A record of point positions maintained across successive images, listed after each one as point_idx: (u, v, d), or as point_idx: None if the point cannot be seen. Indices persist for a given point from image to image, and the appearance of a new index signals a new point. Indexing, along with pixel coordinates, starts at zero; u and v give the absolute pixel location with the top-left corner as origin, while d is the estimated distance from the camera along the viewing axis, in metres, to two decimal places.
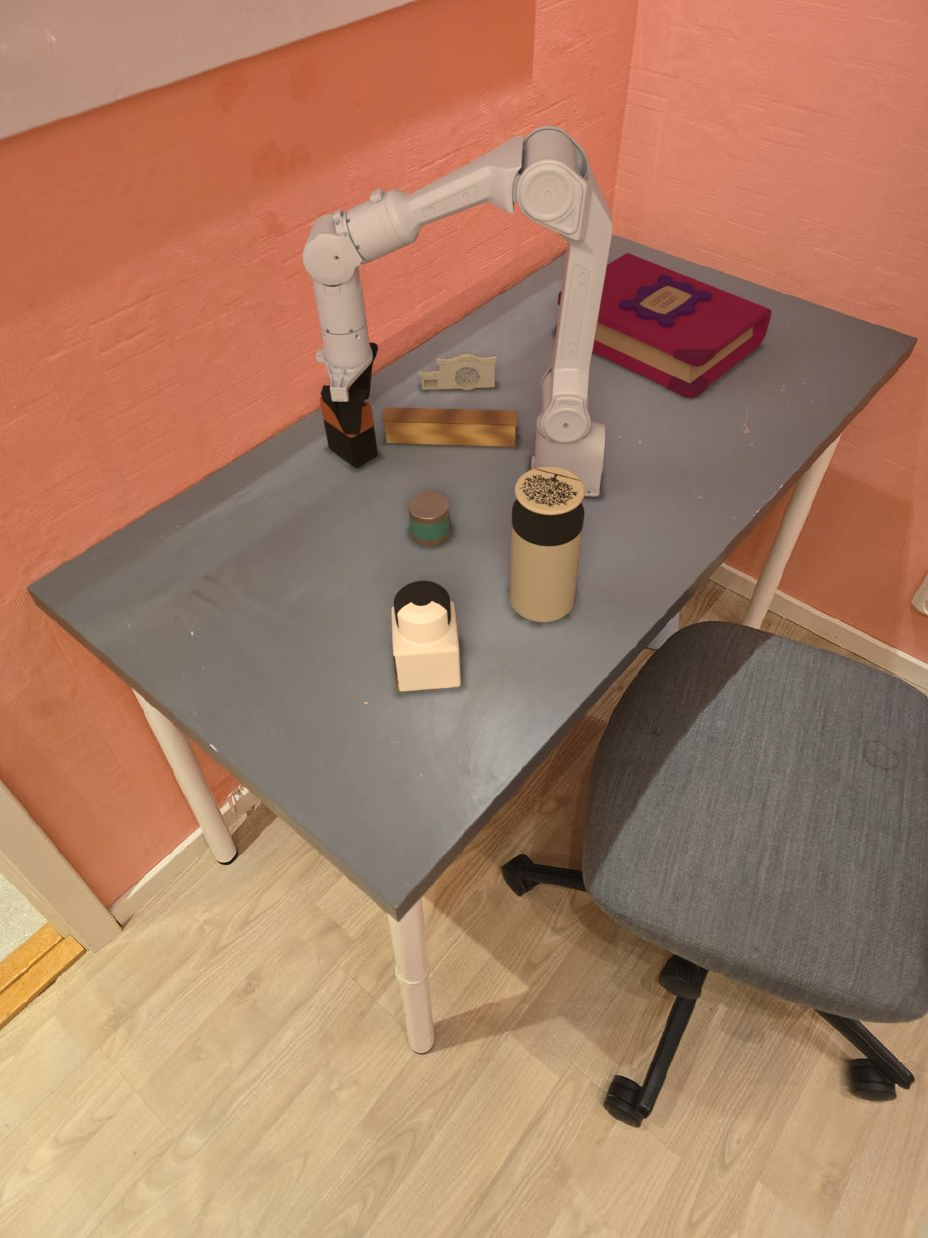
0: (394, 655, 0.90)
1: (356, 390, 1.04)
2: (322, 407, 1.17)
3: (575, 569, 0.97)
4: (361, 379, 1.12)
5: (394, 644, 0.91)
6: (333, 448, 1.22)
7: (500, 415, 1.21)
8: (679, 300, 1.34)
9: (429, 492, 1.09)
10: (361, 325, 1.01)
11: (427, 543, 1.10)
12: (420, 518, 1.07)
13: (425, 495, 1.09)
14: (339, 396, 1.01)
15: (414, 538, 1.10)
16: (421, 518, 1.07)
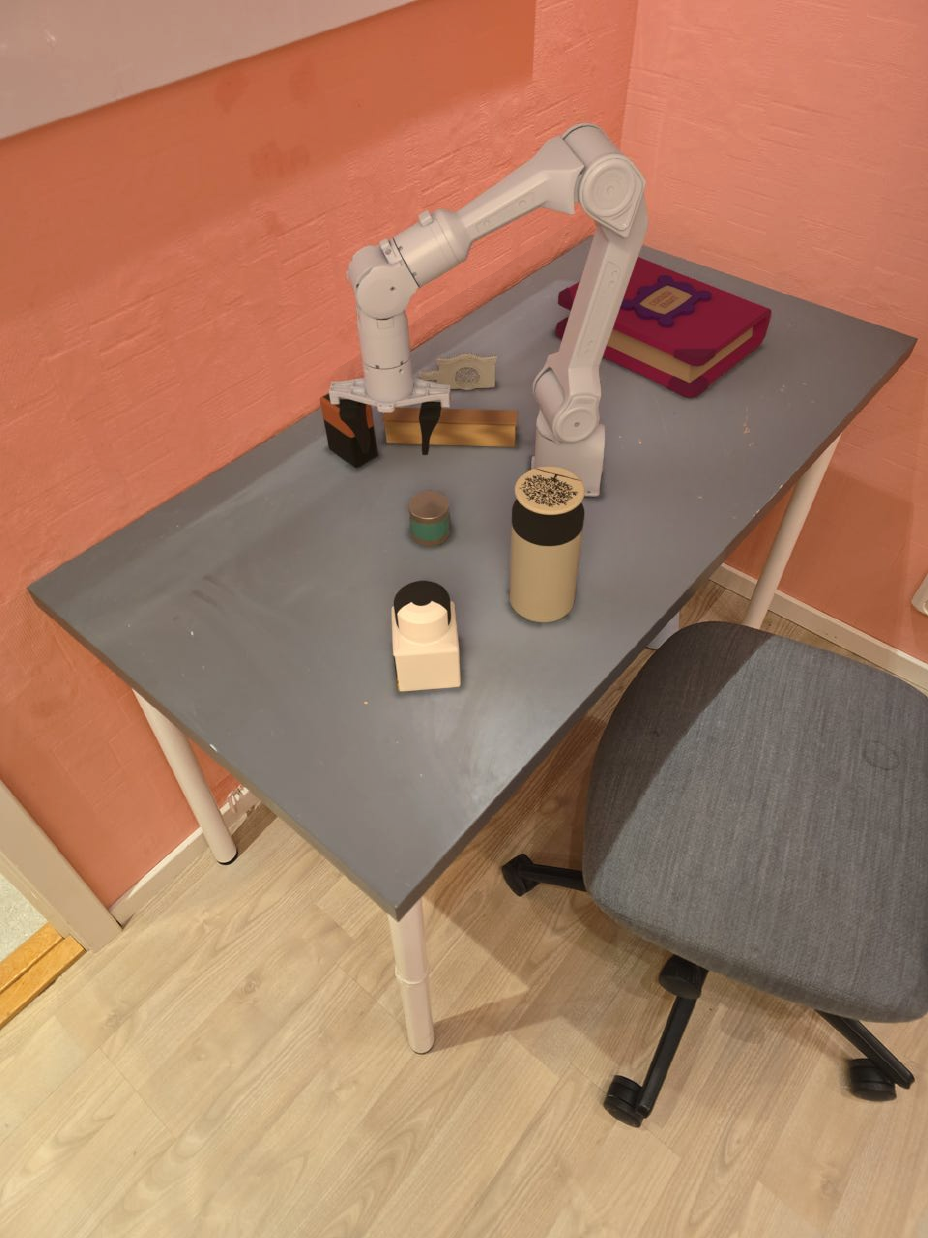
0: (394, 655, 0.90)
1: None
2: (322, 407, 1.17)
3: (575, 569, 0.97)
4: (365, 426, 1.06)
5: (394, 644, 0.91)
6: (333, 448, 1.22)
7: (500, 415, 1.21)
8: (679, 300, 1.34)
9: (429, 492, 1.09)
10: (409, 355, 0.96)
11: (427, 543, 1.10)
12: (420, 518, 1.07)
13: (425, 495, 1.09)
14: (450, 397, 1.01)
15: (414, 538, 1.10)
16: (421, 518, 1.07)
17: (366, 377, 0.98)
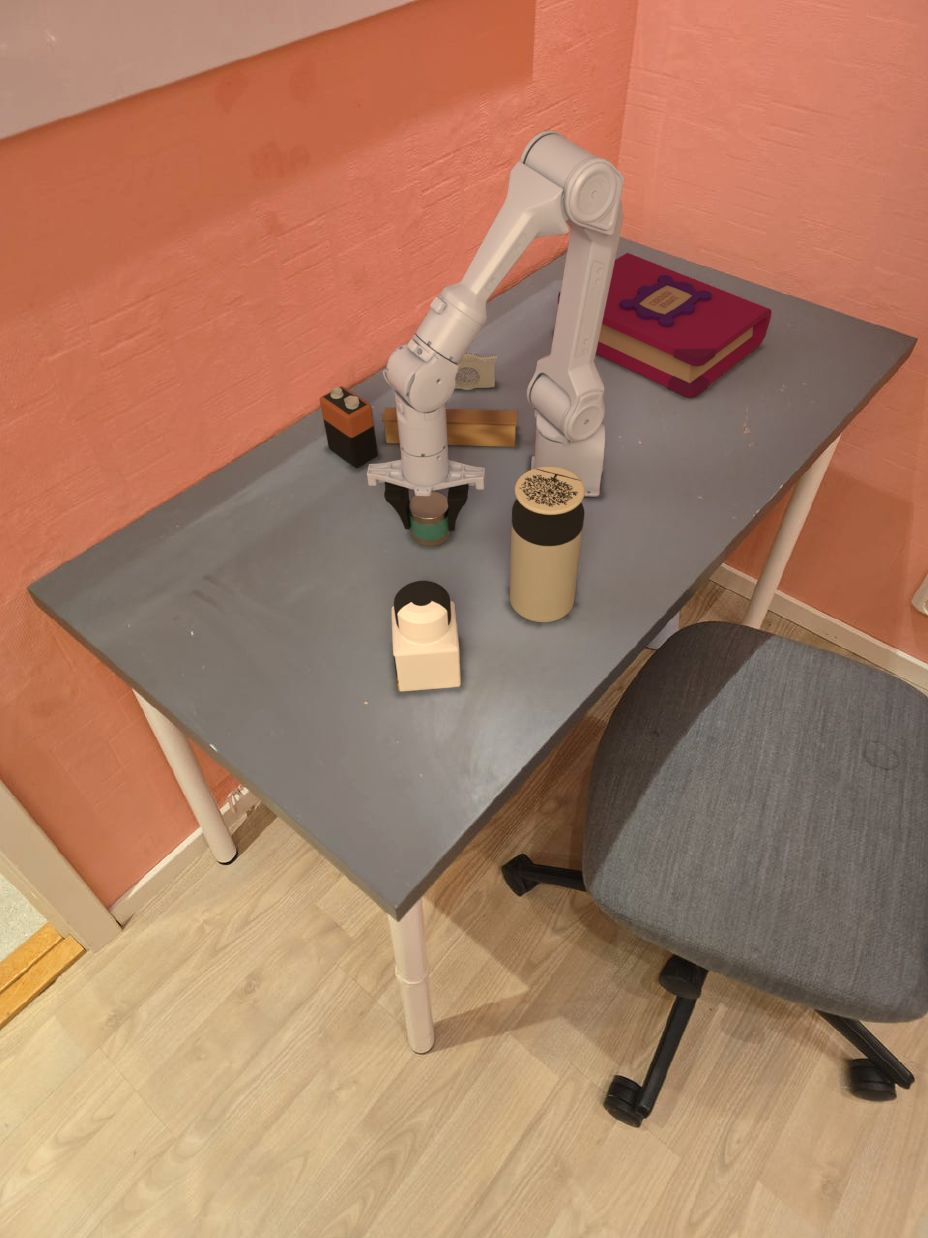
0: (394, 655, 0.90)
1: None
2: (322, 407, 1.17)
3: (575, 569, 0.97)
4: (408, 504, 1.09)
5: (394, 644, 0.91)
6: (333, 448, 1.22)
7: (500, 415, 1.21)
8: (679, 300, 1.34)
9: None
10: None
11: (427, 543, 1.10)
12: (421, 518, 1.07)
13: None
14: (484, 479, 1.04)
15: (414, 538, 1.10)
16: (421, 518, 1.07)
17: (404, 463, 1.01)
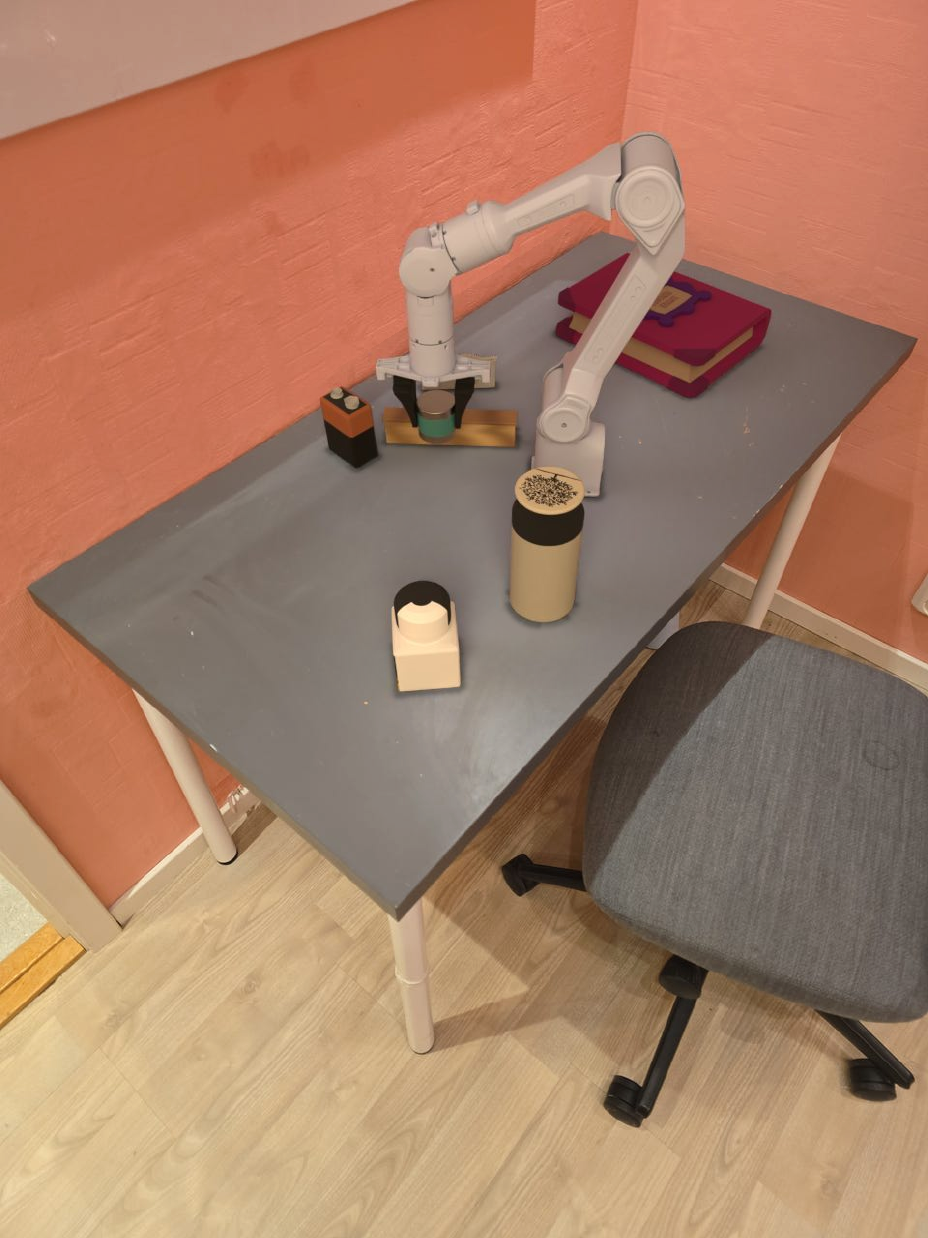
0: (394, 655, 0.90)
1: None
2: (322, 407, 1.17)
3: (575, 569, 0.97)
4: (415, 402, 1.11)
5: (394, 644, 0.91)
6: (333, 448, 1.22)
7: (500, 415, 1.21)
8: (679, 300, 1.34)
9: (436, 390, 1.12)
10: (450, 336, 1.02)
11: (434, 440, 1.12)
12: (428, 413, 1.09)
13: (432, 393, 1.12)
14: (490, 373, 1.07)
15: (422, 436, 1.13)
16: (429, 413, 1.09)
17: (412, 353, 1.03)
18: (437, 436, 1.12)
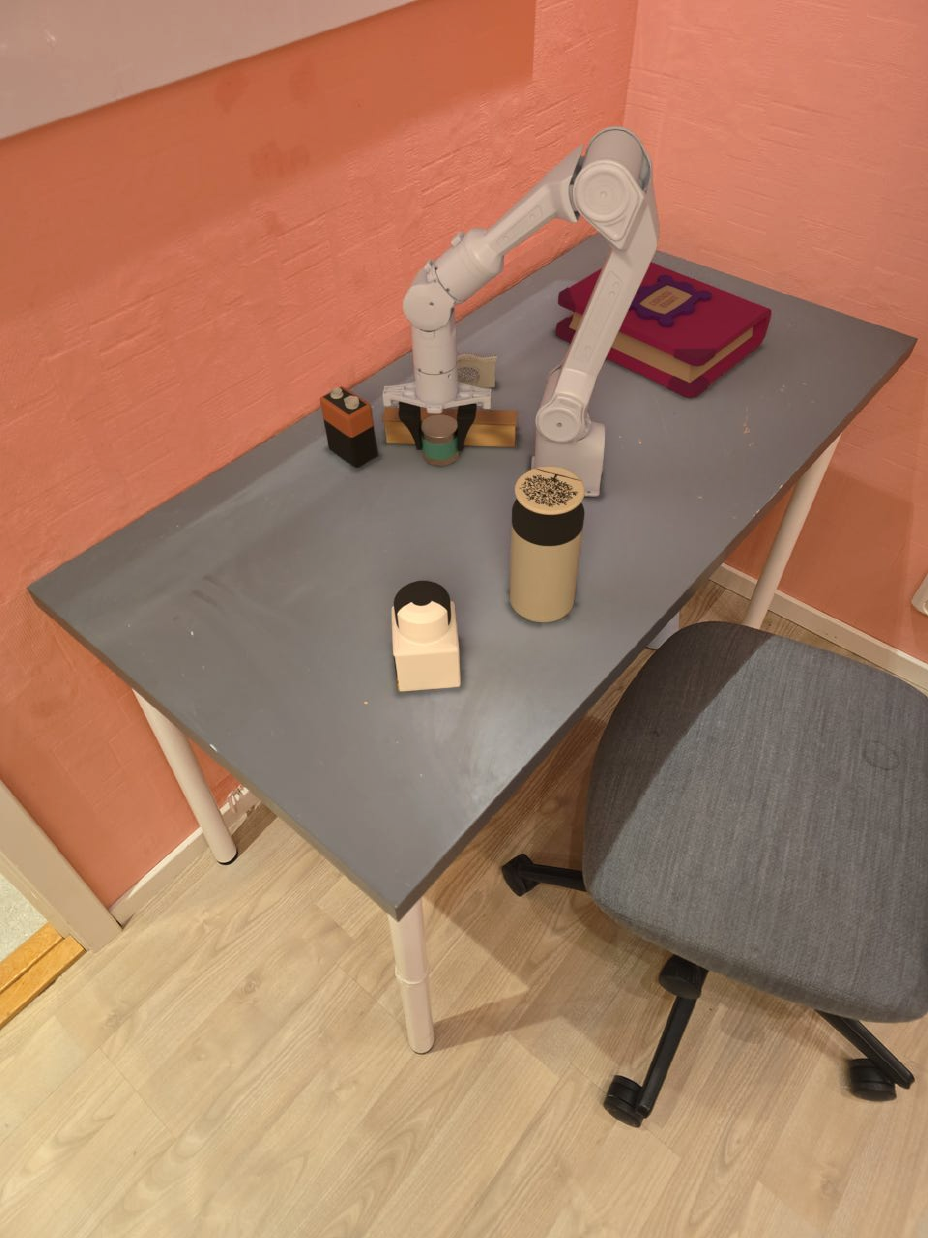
0: (394, 655, 0.90)
1: None
2: (322, 407, 1.17)
3: (575, 569, 0.97)
4: (420, 426, 1.17)
5: (394, 644, 0.91)
6: (333, 448, 1.22)
7: (500, 415, 1.21)
8: (679, 300, 1.34)
9: (440, 415, 1.18)
10: (451, 367, 1.07)
11: (437, 462, 1.18)
12: (432, 437, 1.15)
13: (436, 417, 1.18)
14: (491, 399, 1.13)
15: (426, 458, 1.19)
16: (432, 437, 1.15)
17: (417, 381, 1.09)
18: (440, 458, 1.18)
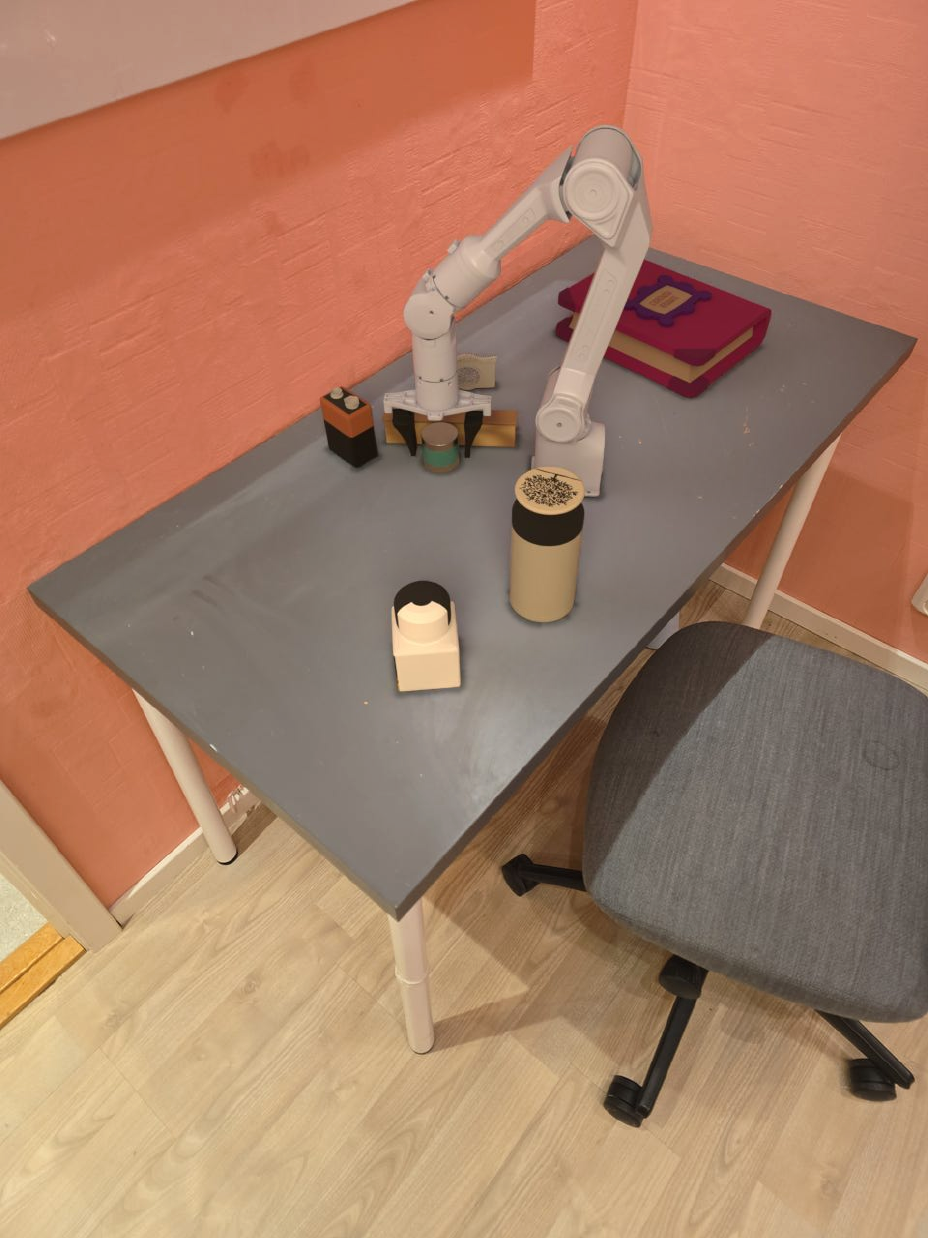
0: (394, 655, 0.90)
1: None
2: (322, 407, 1.17)
3: (575, 569, 0.97)
4: (414, 433, 1.18)
5: (394, 644, 0.91)
6: (333, 448, 1.22)
7: (500, 415, 1.21)
8: (679, 300, 1.34)
9: (440, 423, 1.19)
10: (451, 375, 1.08)
11: (438, 470, 1.19)
12: (432, 445, 1.16)
13: (436, 425, 1.19)
14: (491, 406, 1.13)
15: (426, 466, 1.20)
16: (433, 445, 1.16)
17: (418, 389, 1.10)
18: (441, 466, 1.19)
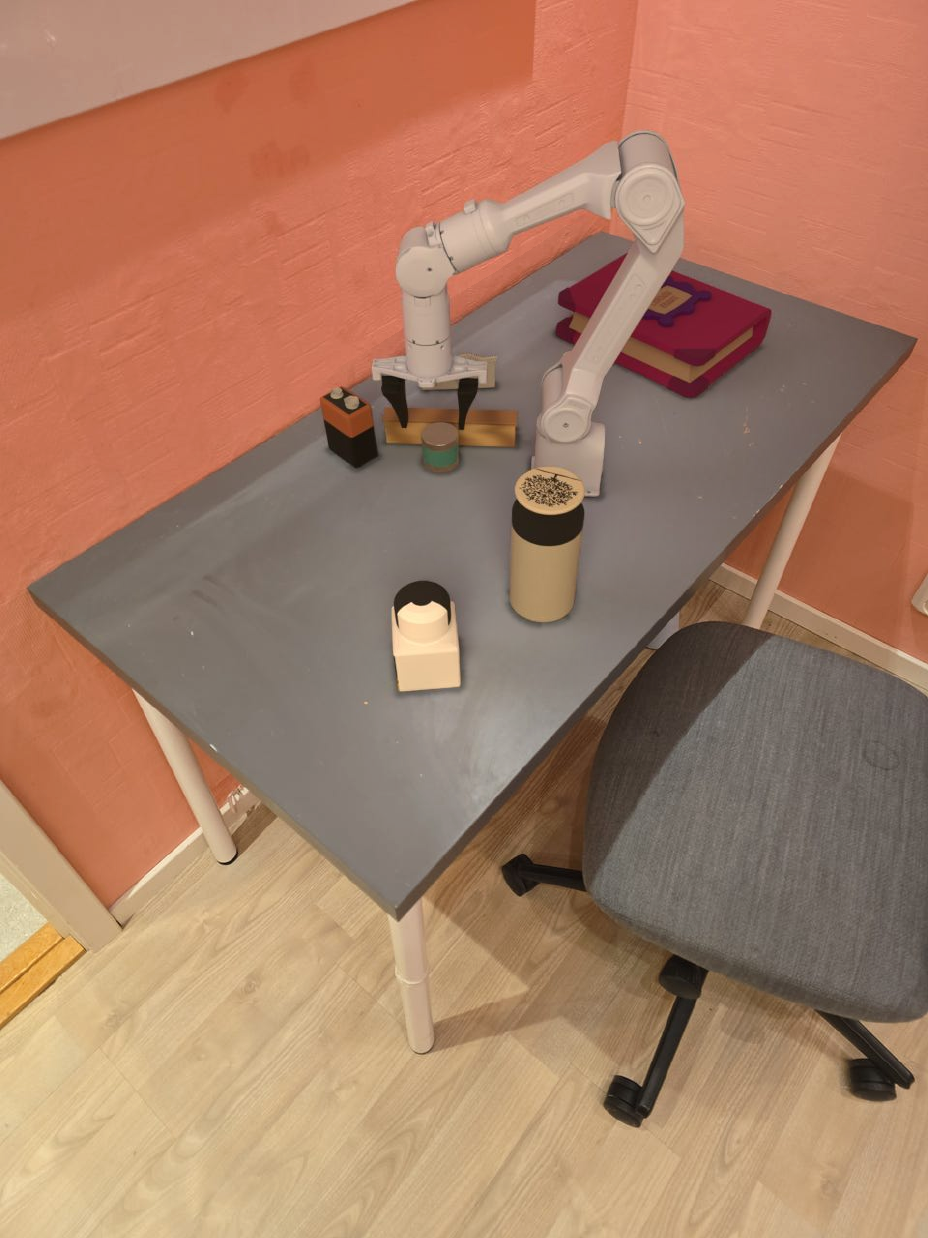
0: (394, 655, 0.90)
1: None
2: (322, 407, 1.17)
3: (575, 569, 0.97)
4: (405, 402, 1.11)
5: (394, 644, 0.91)
6: (333, 448, 1.22)
7: (500, 415, 1.21)
8: (679, 300, 1.34)
9: (440, 423, 1.19)
10: (446, 336, 1.01)
11: (438, 470, 1.19)
12: (432, 445, 1.16)
13: (436, 425, 1.19)
14: (487, 373, 1.06)
15: (426, 466, 1.20)
16: (433, 445, 1.16)
17: (408, 353, 1.03)
18: (441, 466, 1.19)
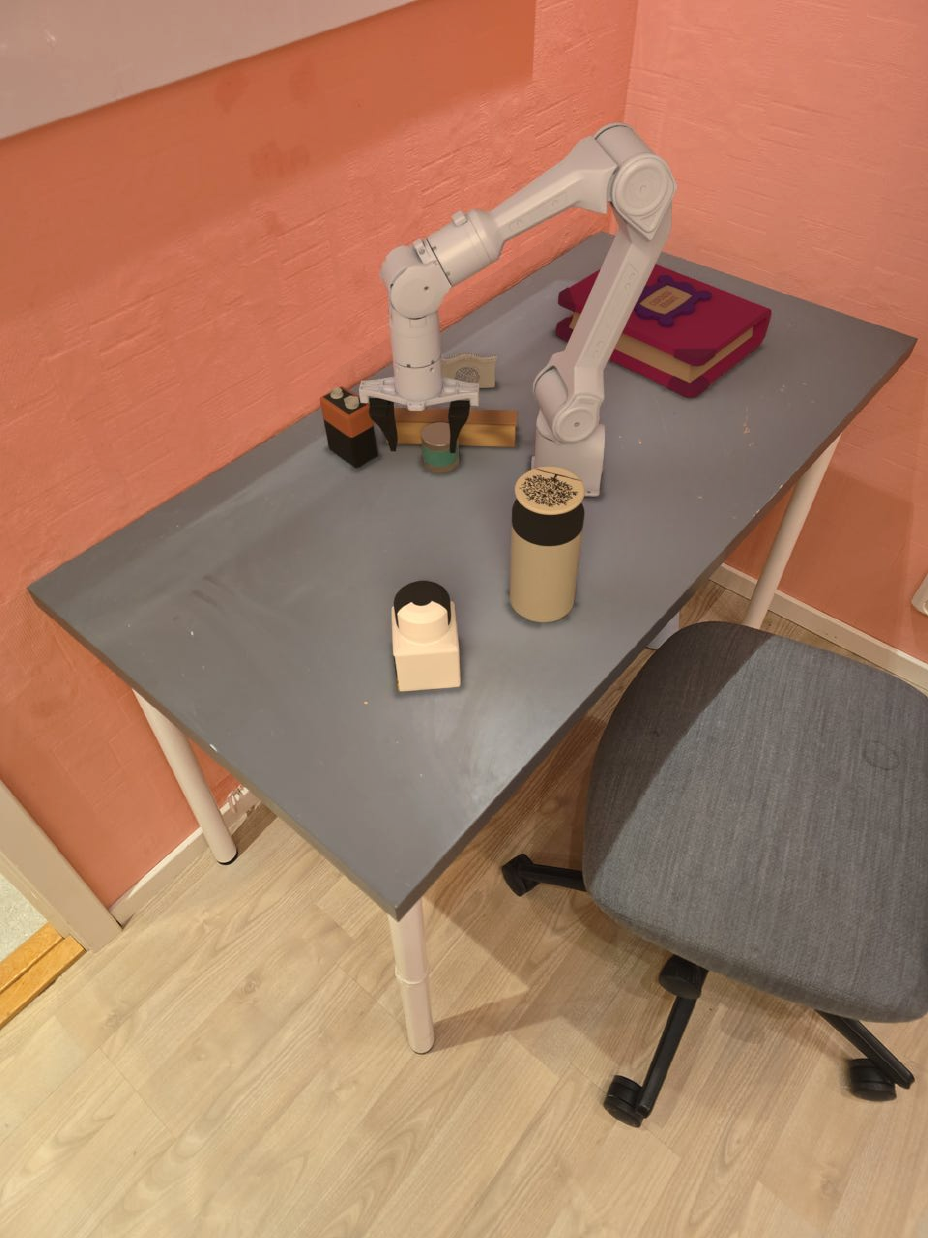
0: (394, 655, 0.90)
1: None
2: (322, 407, 1.17)
3: (575, 569, 0.97)
4: (394, 425, 1.07)
5: (394, 644, 0.91)
6: (333, 448, 1.22)
7: (500, 415, 1.21)
8: (679, 300, 1.34)
9: (440, 423, 1.19)
10: (439, 354, 0.97)
11: (438, 470, 1.19)
12: (432, 445, 1.16)
13: (436, 425, 1.19)
14: None
15: (426, 466, 1.20)
16: (433, 445, 1.16)
17: (397, 376, 0.98)
18: (441, 466, 1.19)
